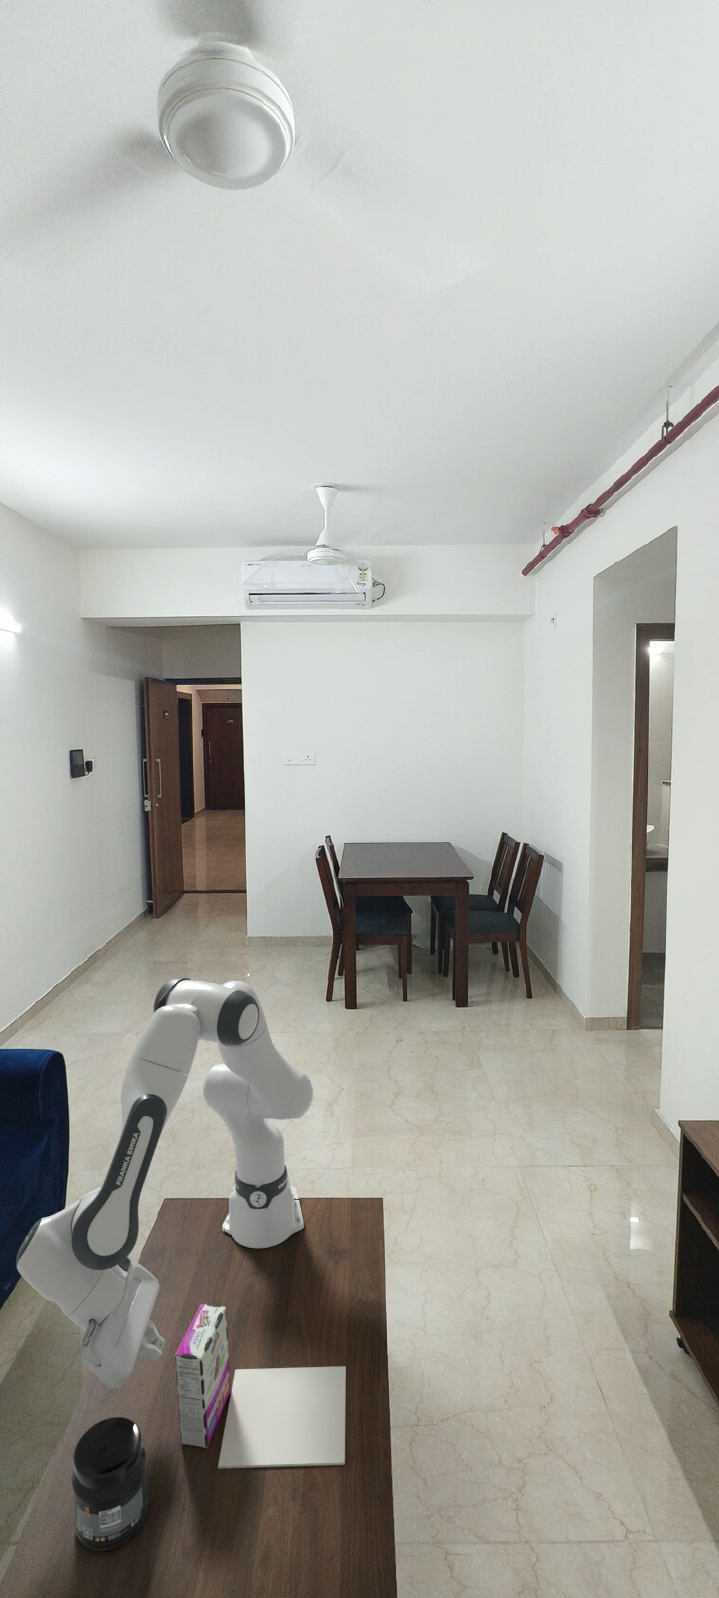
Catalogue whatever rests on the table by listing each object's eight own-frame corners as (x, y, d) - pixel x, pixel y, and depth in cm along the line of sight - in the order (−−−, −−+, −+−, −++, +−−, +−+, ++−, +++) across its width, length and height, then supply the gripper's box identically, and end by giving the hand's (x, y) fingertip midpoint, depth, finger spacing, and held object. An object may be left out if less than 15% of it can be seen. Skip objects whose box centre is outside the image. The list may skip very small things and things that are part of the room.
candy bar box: (205, 1387, 136) (200, 1301, 134) (231, 1391, 135) (227, 1305, 133) (178, 1446, 125) (173, 1354, 124) (207, 1451, 124) (202, 1358, 123)
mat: (235, 1371, 139) (235, 1369, 139) (345, 1368, 139) (345, 1366, 139) (218, 1468, 121) (218, 1466, 121) (344, 1464, 121) (344, 1462, 121)
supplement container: (119, 1469, 122) (114, 1400, 120) (164, 1507, 116) (159, 1435, 114) (59, 1527, 113) (54, 1454, 112) (104, 1572, 107) (99, 1495, 106)
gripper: (90, 1337, 117) (158, 1393, 118) (129, 1245, 138) (186, 1294, 139) (63, 1365, 118) (130, 1420, 119) (105, 1269, 138) (163, 1317, 139)
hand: (161, 1351), depth 129 cm, fingers closed
